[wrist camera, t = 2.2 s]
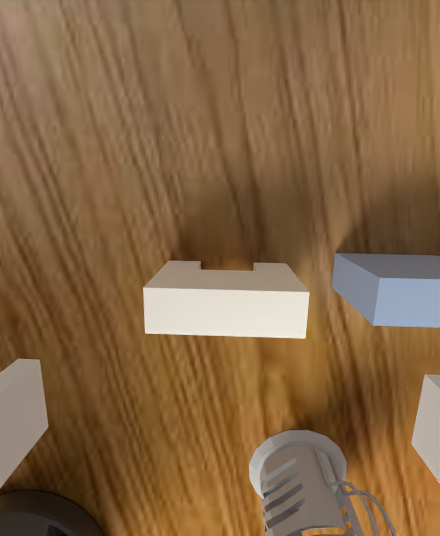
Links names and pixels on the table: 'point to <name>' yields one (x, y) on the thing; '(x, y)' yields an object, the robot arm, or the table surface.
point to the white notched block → (226, 301)
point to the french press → (306, 485)
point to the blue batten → (390, 287)
